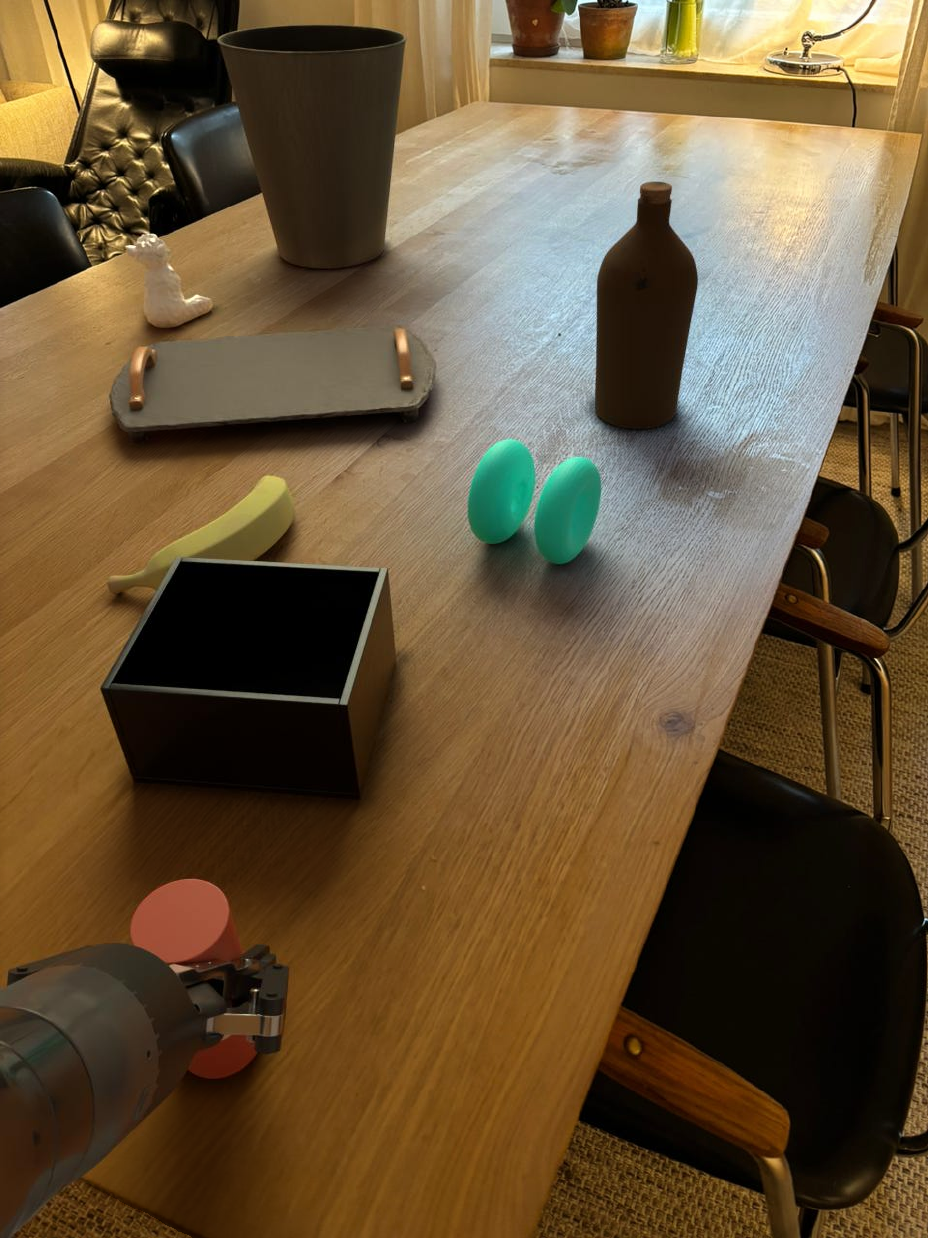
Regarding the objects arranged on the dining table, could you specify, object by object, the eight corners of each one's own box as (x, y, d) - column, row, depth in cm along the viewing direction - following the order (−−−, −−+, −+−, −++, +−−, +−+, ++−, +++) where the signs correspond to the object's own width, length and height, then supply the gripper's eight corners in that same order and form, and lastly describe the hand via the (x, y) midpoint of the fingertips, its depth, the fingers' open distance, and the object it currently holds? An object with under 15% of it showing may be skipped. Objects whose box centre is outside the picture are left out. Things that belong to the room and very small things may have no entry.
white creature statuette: (215, 308, 142) (199, 222, 134) (192, 333, 135) (174, 244, 128) (153, 305, 143) (133, 220, 135) (127, 330, 137) (105, 242, 129)
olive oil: (696, 424, 113) (728, 195, 97) (609, 439, 111) (627, 207, 95) (658, 384, 121) (682, 165, 105) (576, 396, 119) (587, 176, 103)
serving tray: (101, 454, 111) (86, 404, 107) (130, 363, 128) (118, 317, 124) (446, 427, 114) (444, 377, 110) (428, 342, 131) (425, 296, 127)
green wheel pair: (559, 588, 90) (563, 495, 84) (463, 558, 94) (460, 467, 88) (602, 532, 97) (609, 442, 90) (511, 506, 101) (511, 418, 94)
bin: (133, 782, 74) (99, 688, 67) (199, 646, 85) (175, 556, 79) (360, 800, 72) (347, 705, 66) (396, 659, 83) (388, 567, 77)
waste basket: (430, 231, 164) (420, 23, 145) (402, 278, 149) (388, 51, 130) (274, 226, 168) (244, 22, 149) (231, 270, 153) (193, 49, 134)
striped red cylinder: (163, 1076, 56) (110, 960, 49) (193, 992, 60) (149, 872, 53) (252, 1086, 56) (213, 970, 48) (276, 1000, 60) (243, 881, 52)
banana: (314, 484, 91) (107, 580, 85) (333, 537, 94) (134, 634, 87) (265, 456, 102) (79, 539, 96) (284, 503, 105) (104, 587, 98)
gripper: (247, 984, 39) (343, 902, 56) (-93, 950, 40) (100, 880, 57) (231, 1183, 38) (333, 1039, 55) (-115, 1141, 40) (87, 1013, 57)
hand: (213, 958), depth 56 cm, fingers closed on striped red cylinder, 5 cm apart
